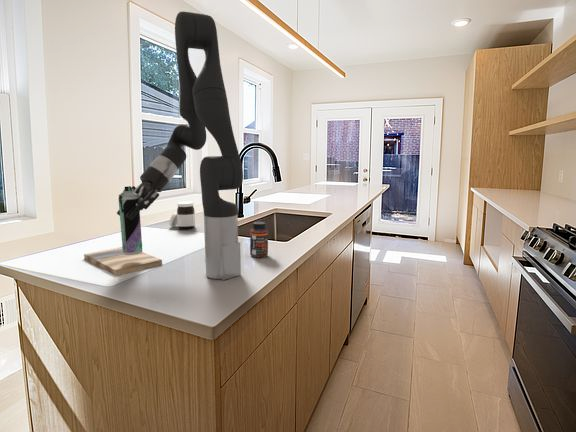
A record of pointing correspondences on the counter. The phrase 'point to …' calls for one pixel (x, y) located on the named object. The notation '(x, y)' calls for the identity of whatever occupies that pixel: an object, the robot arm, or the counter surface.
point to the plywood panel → (121, 260)
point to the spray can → (129, 223)
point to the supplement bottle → (259, 240)
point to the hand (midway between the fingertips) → (124, 216)
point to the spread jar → (184, 216)
